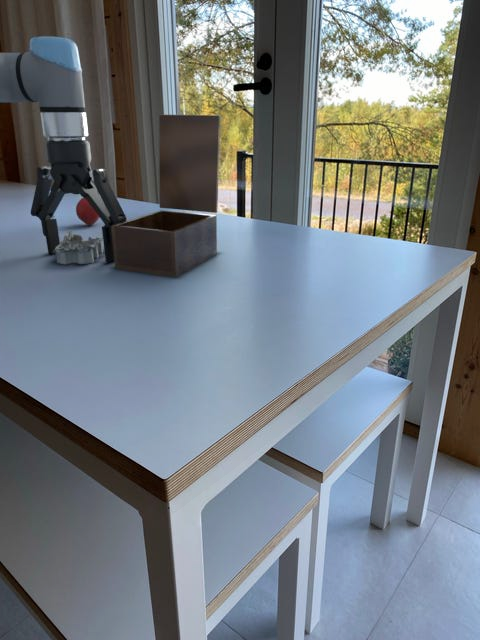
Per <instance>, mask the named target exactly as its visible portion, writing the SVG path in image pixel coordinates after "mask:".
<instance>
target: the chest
mask: <svg viewBox="0 0 480 640" xmlns="http://www.w3.org/2000/svg"><path fill="white" fill-rule="evenodd" d="M217 223H218V221H217V215H216V214H207V213H205V214H204V213H195V212H186V211H174V210H166V209H165V210H164V209H163V210H162V209H160V210H157V211H154V212H151V213H147V214H143V215H141V216H138V217H135V218H131V219H128V220H126V221H124V222H121V223H118V224H115V225H112V226H111V230H112V240H113V251H114V260H113V261H114V269H117V270H126V271H131V272H132V271H133V272H139V273H143V274H151V275H159V276H165V277H172V278H177V277H179V276H181V275H184V274H185V273H186V272H188V271H190V270H191V269H193V268H195V267H197V266H198V265H200V264H202V263H203V262H205V261H207V260H208V259H210V258H212V257H214V256H215V255H217V254H218V251H217V250H218V239H217V238H218V235H217V233H218V231H217V225H218V224H217Z"/></svg>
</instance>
